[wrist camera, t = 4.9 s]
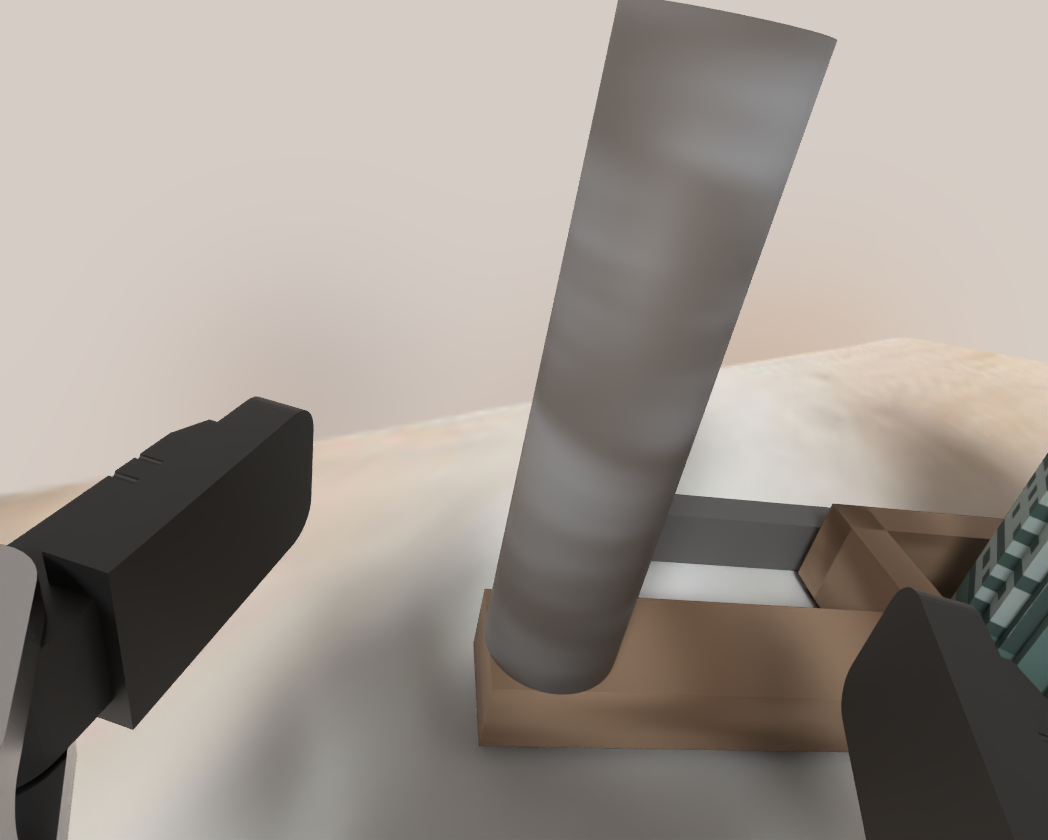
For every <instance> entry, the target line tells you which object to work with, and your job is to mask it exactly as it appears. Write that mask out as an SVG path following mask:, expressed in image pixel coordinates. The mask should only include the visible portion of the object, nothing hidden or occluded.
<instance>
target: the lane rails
mask: <svg viewBox="0 0 1048 840" xmlns="http://www.w3.org/2000/svg"><path fill="white" fill-rule="evenodd" d="M829 510H830V508H827V507H816V506H804V505H793V504H782V503H770V502H759V501H747V500H736V499H724V498H713V497H702V496H690V495H679V494H675V495H674V498H673V500H672V503H671V506H670V509H669V512H668V514H667V517H666V520H665V523H664V526H663V528H662V531H661V534H660V537H659V540H658V542H657V545H656V548H655V551H654V554H653V556H652V559H651V561H665V562H680V563H695V564H709V565H724V566H738V567H753V568H768V569H782V570H797V571H799V570H800V568H801V566H802V564H803V562H804V560H805V558H806V556H807V554H808V552H809V550H810V548H811V546H812V544H813V542H814V540H815V538H816V536H817V534H818V532H819V530H820V528H821V526H822V524H823V522H824V520H825V518H826V516H827V514H828V512H829Z"/></svg>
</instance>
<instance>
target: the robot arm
mask: <svg viewBox="0 0 1048 840" xmlns="http://www.w3.org/2000/svg"><path fill="white" fill-rule="evenodd" d="M312 458H313V419H312V416H311V414H310V413H309V412H308V411H306V410H302V409H299V408H295V407H292V406H289V405H285V404H282V403H278V402H275V401H271V400H268V399H264V398H261V397H253V398H250V399H249V400H247V401H246V402H244V403H243V404H242V405H240V406H239V407H238V408H236V409H235V410H233V411H232V412H231V413H229V414H228V415H227V416H225V417H224V418H223V419H221V420H220V421H218V422H215V421H212V420H207V421H204V422H201V423H198V424H195V425H193V426H190V427H186V428H184V429H181V430H178V431H175V432H172V433H170V434H168V435H167V436H165V437H164V438H163V439H161V440H160V441H158V442H157V443H155V444H154V445H153V446H151V447H149V448H148V449H146V450H145V451H144V452H142V453H141V454H140V457H139V459H136V458H133V459H132V460H130V461H129V462H128V463H126V464H125V465H123V466H122V467H120V468H119V469H117V470H116V471H115V474H114V476H113V477H111V476H107V477H106V478H104V479H103V480H101V481H100V482H99V483H97V484H96V485H94V486H93V487H91V488H90V489H88V490H87V491H85V492H84V493H83V494H81V495H80V496H78V497H77V498H75V499H74V500H72V501H71V502H70V503H68V504H67V505H65V506H64V507H62V508H61V509H59V510H58V511H56V512H55V513H54V514H52V515H51V516H49V517H48V518H46V519H45V520H43V521H42V522H40V523H39V524H38V525H36V526H35V527H33V528H32V529H30V530H29V531H27V532H26V533H25V534H23V535H22V536H20V537H19V538H17V539H16V540H14V541H13V542H11V543H10V544H8V545H7V546H6V545H2V544H0V840H68V831H69V822H70V813H71V804H72V795H73V785H74V776H75V767H76V758H77V746H76V741H75V740H76V739H77V738H78V737H79V736H80V735H81V734H82V733H83V732H84V730H85V729H86V728H87V727H88V726H89V725H90V724H91V723H92V722H93V721H94V720H95V719H96V718H97V717H99V718H102V719H105V720H107V721H110V722H113V723H116V724H118V725H121V726H124V727H127V728H129V729H132V730H133V729H134V728H135V727H136V726H137V725H138V724H139V723H140V721H141V720H142V719H143V718H144V717H145V716H146V714H147V713H148V712H149V711H150V710H151V709H152V707H153V706H154V705H155V704H156V703H157V702H158V701H159V699H160V698H161V697H162V696H163V695H164V694H165V692H166V691H167V690H168V689H169V688H170V687H171V685H172V684H173V683H174V682H175V681H176V680H177V678H178V677H179V676H180V675H181V674H182V673H183V672H184V670H185V669H186V668H187V667H188V666H189V665H190V663H191V662H192V661H193V660H194V659H195V658H196V656H197V655H198V654H199V653H200V652H201V651H202V650H203V648H204V647H205V646H206V645H207V644H208V643H209V641H210V640H211V639H212V638H213V637H214V636H215V634H216V633H217V632H218V631H219V630H220V629H221V627H222V626H223V625H224V624H225V623H226V622H227V621H228V619H229V618H230V617H231V616H232V615H233V614H234V612H235V611H236V610H237V609H238V608H239V607H240V605H241V604H242V603H243V602H244V601H245V600H246V599H247V597H248V596H249V595H250V594H251V593H252V592H253V590H254V589H255V588H256V587H257V586H258V585H259V583H260V582H261V581H262V580H263V579H264V578H265V576H266V575H267V574H268V573H269V572H270V571H271V570H272V568H273V567H274V566H275V565H276V564H277V563H278V561H279V560H280V559H281V558H282V557H283V556H284V554H285V553H286V552H287V551H288V550H289V549H290V548H291V546H292V545H293V544H294V543H295V541H296V540H297V538H298V537H299V535H300V533H301V532H302V530H303V527H304V525H305V523H306V520H307V517H308V514H309V510H310V505H311V488H312ZM841 713H842V721H843V726H844V731H845V736H846V741H847V746H848V751H849V756H850V761H851V766H852V771H853V776H854V781H855V786H856V790H857V795H858V800H859V805H860V810H861V815H862V820H863V825H864V830H865V835H866V840H1048V699H1047V698H1046V697H1045V696H1044V695H1043V694H1042V693H1041V692H1040V691H1039V690H1038V688H1037V687H1036V686H1035V685H1034V684H1033V683H1032V682H1031V681H1030V680H1029V679H1028V677H1027V676H1026V675H1025V674H1024V673H1023V672H1022V671H1021V670H1020V669H1019V668H1018V666H1017V665H1016V664H1015V663H1014V662H1013V661H1012V660H1010V659H1006V658H1003V657H1001V655H1000V653H999V651H998V649H997V647H996V645H995V643H994V641H993V639H992V637H991V635H990V633H989V631H988V629H987V627H986V625H985V623H984V621H983V619H982V617H981V615H980V613H979V611H978V610H977V609H976V608H975V607H973V606H972V605H969V604H965V603H962V602H958V601H955V600H951V599H948V598H945V597H941V596H938V595H934V594H931V593H927V592H924V591H920V590H917V589H914V588H910V587H905V588H903V589H901V590H899V591H898V592H897V593H896V594H895V595H894V597H893V598H892V599H891V601H890V603H889V604H888V606H887V608H886V609H885V611H884V613H883V614H882V616H881V618H880V619H879V621H878V622H877V624H876V626H875V627H874V629H873V631H872V632H871V634H870V636H869V637H868V639H867V641H866V642H865V644H864V646H863V647H862V649H861V650H860V652H859V654H858V655H857V657H856V659H855V660H854V662H853V664H852V665H851V667H850V669H849V671H848V674H847V676H846V679H845V682H844V687H843V692H842V700H841Z"/></svg>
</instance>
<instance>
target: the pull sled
mask: <svg viewBox="0 0 1048 840" xmlns="http://www.w3.org/2000/svg"><path fill="white" fill-rule="evenodd" d="M836 42H837V40H836V39H834V38H832V37H830V36H827V35H824V34H820V33H817V32H813V31H810V30H806V29H802V28H798V27H794V26H790V25H786V24H781V23H777V22H772V21H768V20H764V19H759V18H755V17H750V16H745V15H741V14H736V13H731V12H725V11H721V10H715V9H710V8H705V7H700V6H694V5H689V4H683V3H677V2H671V1H665V0H618V4H617V9H616V13H615V18H614V23H613V28H612V32H611V37H610V42H609V46H608V51H607V55H606V60H605V65H604V70H603V74H602V79H601V84H600V88H599V93H598V98H597V102H596V107H595V112H594V116H593V121H592V126H591V130H590V135H589V140H588V145H587V149H586V154H585V158H584V163H583V168H582V172H581V177H580V182H579V187H578V192H577V196H576V201H575V205H574V210H573V215H572V219H571V224H570V228H569V233H568V238H567V242H566V247H565V252H564V256H563V261H562V266H561V271H560V275H559V280H558V285H557V289H556V294H555V299H554V303H553V308H552V313H551V318H550V322H549V327H548V331H547V336H546V341H545V345H544V351H543V355H542V359H541V364H540V369H539V373H538V378H537V383H536V387H535V392H534V397H533V401H532V406H531V411H530V415H529V420H528V425H527V429H526V434H525V439H524V443H523V448H522V453H521V458H520V462H519V467H518V472H517V476H516V481H515V486H514V490H513V495H512V500H511V504H510V509H509V514H508V518H507V523H506V528H505V532H504V537H503V542H502V546H501V551H500V556H499V560H498V565H497V570H496V574H495V579H494V584H493V588H492V589H485V590H484V595H483V600H482V605H481V610H480V614H479V619H478V624H477V629H476V634H475V639H474V663H475V681H476V700H477V719H478V737H479V746H505V747H567V748H628V749H690V750H751V751H813V752H849V751H848V746H847V741H846V736H845V731H844V726H843V721H842V713H841V700H842V692H843V687H844V682H845V679H846V676H847V674H848V671H849V669H850V667H851V665H852V664H853V662H854V660H855V659H856V657H857V655H858V654H859V652H860V650H861V649H862V647H863V646H864V644H865V642H866V641H867V639H868V637H869V636H870V634H871V632H872V631H873V629H874V627H875V626H876V624H877V622H878V621H879V619H880V618H881V616H882V614H883V613H884V611H885V609H886V608H887V606H888V604H889V603H890V601H891V599H892V598H893V597H894V595H895V594H896V593H897V592H898V591H899V590H901V589H903V588H905V587H910V588H914V589H917V590H920V591H924V592H927V593H931V594H934V595H938V596H941V597H945V598H948V599H951V598H952V597H953V595H954V593H955V592H956V590H957V589H958V587H959V586H960V584H961V583H962V581H963V580H964V578H965V577H966V575H967V574H968V572H969V571H970V569H971V568H972V566H973V565H974V563H975V562H976V560H977V559H978V557H979V556H980V554H981V553H982V551H983V550H984V548H985V547H986V545H987V544H988V542H989V541H990V539H991V538H992V536H993V535H994V533H995V532H996V530H997V529H998V527H999V526H1000V524H1001V523H1002V521H1003V520H1004V519H1000V518H989V517H978V516H966V515H955V514H944V513H932V512H921V511H910V510H899V509H887V508H876V507H865V506H854V505H842V504H832V506H831V508H830V510H829V512H828V514H827V516H826V518H825V520H824V522H823V524H822V526H821V528H820V530H819V532H818V534H817V536H816V538H815V540H814V542H813V544H812V546H811V548H810V550H809V552H808V554H807V556H806V558H805V560H804V562H803V564H802V566H801V568H800V570H799V572H798V574H799V575H800V577H801V578H802V580H803V582H804V583H805V585H806V586H807V588H808V590H809V591H810V593H811V594H812V596H813V597H814V599H815V601H816V602H817V604H818V605H819V607H820V608H806V607H789V606H771V605H754V604H737V603H720V602H702V601H685V600H668V599H651V598H638V596H639V593H640V590H641V587H642V584H643V582H644V579H645V576H646V573H647V570H648V568H649V565H650V562H651V559H652V556H653V554H654V551H655V548H656V545H657V542H658V540H659V537H660V534H661V531H662V528H663V526H664V523H665V520H666V517H667V514H668V512H669V509H670V506H671V503H672V500H673V498H674V495H675V492H676V489H677V486H678V484H679V481H680V478H681V475H682V473H683V470H684V467H685V464H686V461H687V459H688V456H689V453H690V450H691V447H692V445H693V442H694V439H695V436H696V433H697V431H698V428H699V425H700V422H701V419H702V417H703V414H704V411H705V408H706V405H707V403H708V400H709V397H710V394H711V391H712V389H713V386H714V383H715V380H716V377H717V375H718V372H719V369H720V366H721V364H722V361H723V358H724V355H725V352H726V350H727V347H728V344H729V341H730V338H731V335H732V333H733V330H734V327H735V324H736V322H737V319H738V316H739V313H740V310H741V308H742V305H743V302H744V299H745V296H746V294H747V291H748V288H749V285H750V282H751V280H752V276H753V274H754V271H755V268H756V265H757V263H758V260H759V257H760V255H761V251H762V249H763V246H764V243H765V241H766V238H767V235H768V232H769V229H770V227H771V224H772V221H773V218H774V215H775V213H776V210H777V207H778V204H779V201H780V199H781V196H782V193H783V190H784V187H785V185H786V182H787V179H788V176H789V173H790V171H791V168H792V165H793V162H794V159H795V157H796V154H797V151H798V148H799V145H800V143H801V140H802V137H803V134H804V132H805V129H806V126H807V123H808V120H809V117H810V115H811V112H812V109H813V106H814V103H815V101H816V98H817V95H818V92H819V90H820V86H821V84H822V81H823V78H824V75H825V73H826V70H827V67H828V64H829V62H830V59H831V56H832V53H833V50H834V48H835V45H836Z"/></svg>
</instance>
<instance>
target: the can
mask: <svg viewBox="0 0 1048 840" xmlns="http://www.w3.org/2000/svg"><path fill="white" fill-rule="evenodd" d="M951 600H955V601H958V602H962V603H965V604H969V605H972V606H973V607H975V608H976V609H977V610H978V611H979V613H980V615H981V617H982V619H983V621H984V623H985V625H986V627H987V629H988V631H989V633H990V635H991V637H992V639H993V641H994V643H995V645H996V647H997V649H998V651H999V653H1000V655H1001V657H1003V658H1006V659H1010V660H1012V661H1013V662H1014V663H1015V664H1016V665H1017V666H1018V668H1019V669H1020V670H1021V671H1022V672H1023V673H1024V674H1025V675H1026V676H1027V677H1028V679H1029V680H1030V681H1031V682H1032V683H1033V684H1034V685H1035V686H1036V687H1037V688H1038V690H1039V691H1040V692H1041V693H1042V694H1043V695H1044V696H1045V697H1046V698H1047V699H1048V454H1047V455H1046V457H1045V458H1044V460H1043V461H1042V463H1041V464H1040V466H1039V467H1038V469H1037V470H1036V472H1035V473H1034V475H1033V476H1032V478H1031V479H1030V481H1029V482H1028V484H1027V485H1026V487H1025V488H1024V490H1023V491H1022V493H1021V494H1020V496H1019V497H1018V499H1017V500H1016V502H1015V503H1014V505H1013V506H1012V508H1011V509H1010V511H1009V512H1008V514H1007V515H1006V517H1005V518H1004V520H1003V521H1002V523H1001V524H1000V526H999V527H998V529H997V530H996V532H995V533H994V535H993V536H992V538H991V539H990V541H989V542H988V544H987V545H986V547H985V548H984V550H983V551H982V553H981V554H980V556H979V557H978V559H977V560H976V562H975V563H974V565H973V566H972V568H971V569H970V571H969V572H968V574H967V575H966V577H965V578H964V580H963V581H962V583H961V584H960V586H959V587H958V589H957V590H956V592H955V593H954V595H953V597H952V598H951Z"/></svg>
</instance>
